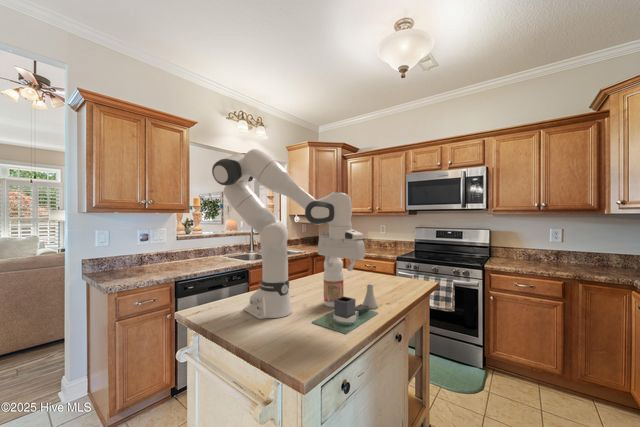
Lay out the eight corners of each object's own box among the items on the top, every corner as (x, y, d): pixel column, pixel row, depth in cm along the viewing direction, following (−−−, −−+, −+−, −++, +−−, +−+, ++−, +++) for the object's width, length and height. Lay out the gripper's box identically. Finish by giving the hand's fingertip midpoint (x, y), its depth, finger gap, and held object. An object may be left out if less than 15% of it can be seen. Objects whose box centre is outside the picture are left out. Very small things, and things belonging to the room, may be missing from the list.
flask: (378, 309, 122) (378, 287, 122) (361, 308, 123) (361, 286, 123) (377, 304, 129) (377, 283, 129) (362, 303, 130) (362, 282, 130)
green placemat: (311, 323, 107) (311, 305, 107) (346, 306, 127) (346, 290, 127) (345, 334, 97) (345, 314, 97) (377, 313, 117) (377, 297, 117)
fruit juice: (319, 303, 130) (319, 245, 130) (335, 300, 136) (335, 243, 136) (331, 309, 123) (331, 247, 123) (347, 305, 128) (347, 245, 128)
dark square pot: (334, 315, 107) (334, 299, 107) (342, 310, 112) (342, 296, 112) (347, 318, 104) (347, 302, 104) (355, 314, 108) (355, 298, 108)
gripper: (314, 232, 110) (314, 266, 110) (358, 235, 98) (358, 273, 98) (323, 231, 115) (323, 264, 115) (367, 234, 103) (366, 271, 103)
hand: (339, 268), depth 106 cm, fingers open, 8 cm apart
